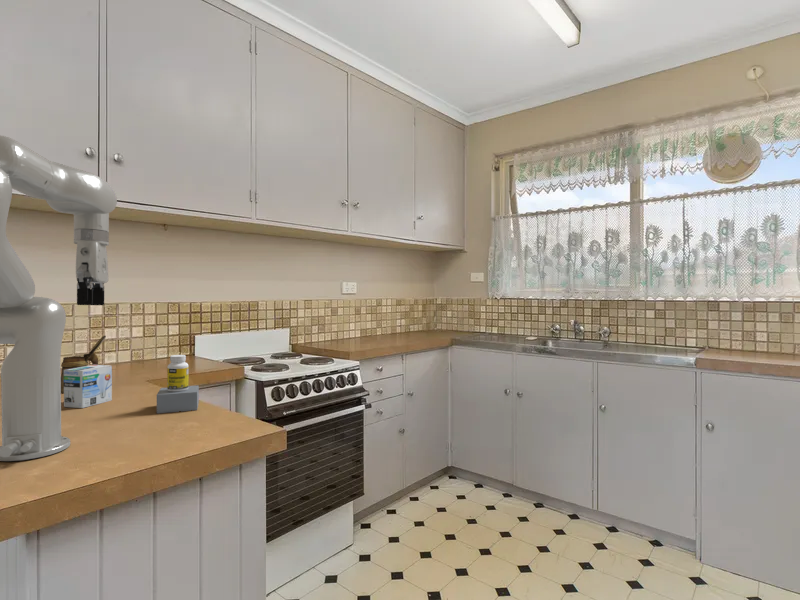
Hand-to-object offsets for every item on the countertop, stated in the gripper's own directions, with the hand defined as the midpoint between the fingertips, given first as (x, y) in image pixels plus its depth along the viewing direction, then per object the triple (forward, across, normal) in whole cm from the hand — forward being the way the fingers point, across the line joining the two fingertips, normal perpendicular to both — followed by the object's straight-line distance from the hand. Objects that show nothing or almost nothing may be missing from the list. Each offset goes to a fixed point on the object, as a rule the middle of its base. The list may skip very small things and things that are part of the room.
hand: (91, 305), depth 118 cm
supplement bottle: (+24, +7, -19) cm, 32 cm away
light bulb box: (+29, +21, +6) cm, 36 cm away
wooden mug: (+28, +44, +15) cm, 55 cm away
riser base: (+29, +7, -20) cm, 36 cm away
